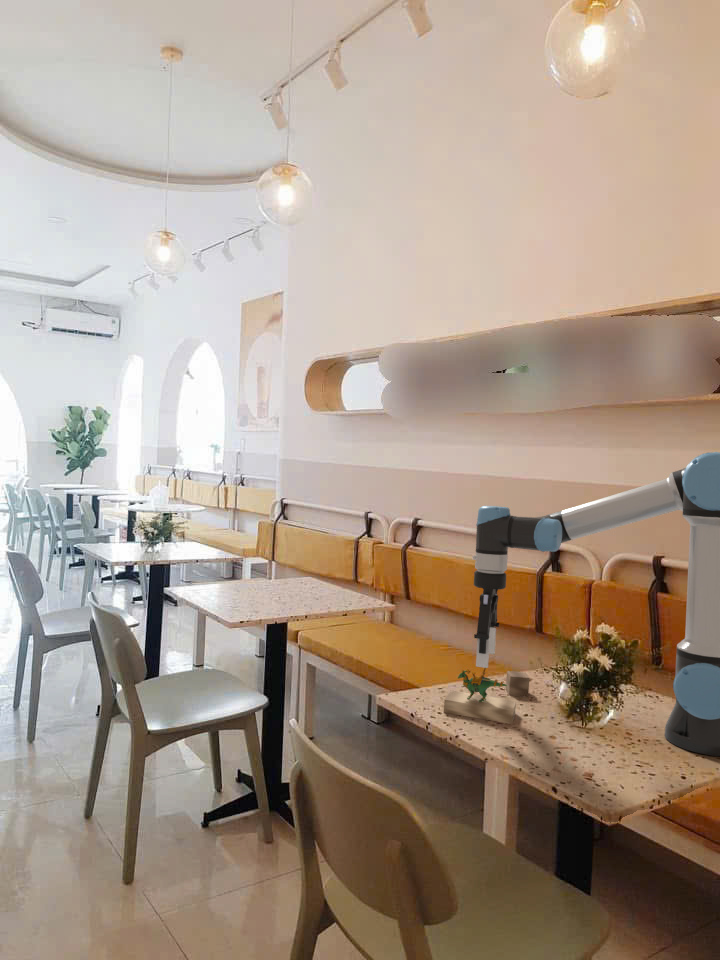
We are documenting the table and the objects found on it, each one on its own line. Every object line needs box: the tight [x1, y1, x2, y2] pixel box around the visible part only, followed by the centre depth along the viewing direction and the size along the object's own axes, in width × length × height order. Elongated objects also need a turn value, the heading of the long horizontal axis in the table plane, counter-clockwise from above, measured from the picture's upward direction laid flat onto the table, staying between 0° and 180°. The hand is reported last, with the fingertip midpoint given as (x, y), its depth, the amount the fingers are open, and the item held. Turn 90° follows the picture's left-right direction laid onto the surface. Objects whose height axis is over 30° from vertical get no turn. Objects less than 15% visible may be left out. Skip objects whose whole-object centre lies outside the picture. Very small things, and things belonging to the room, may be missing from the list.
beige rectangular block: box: [443, 689, 517, 725], centre depth 169 cm, size 16×8×3 cm, turn 73°
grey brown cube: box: [505, 670, 531, 697], centre depth 187 cm, size 5×5×5 cm
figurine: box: [457, 668, 507, 702], centre depth 168 cm, size 3×12×8 cm, turn 67°
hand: (485, 660), depth 168 cm, fingers open, 13 cm apart
